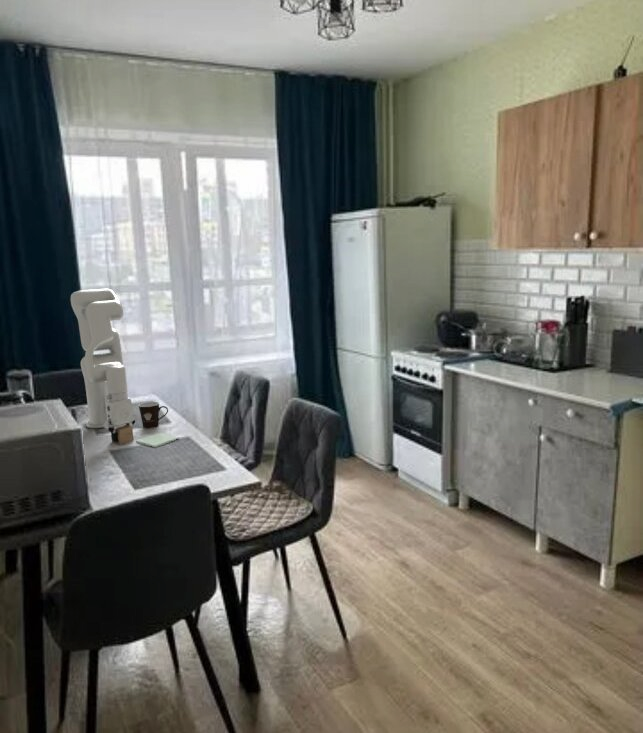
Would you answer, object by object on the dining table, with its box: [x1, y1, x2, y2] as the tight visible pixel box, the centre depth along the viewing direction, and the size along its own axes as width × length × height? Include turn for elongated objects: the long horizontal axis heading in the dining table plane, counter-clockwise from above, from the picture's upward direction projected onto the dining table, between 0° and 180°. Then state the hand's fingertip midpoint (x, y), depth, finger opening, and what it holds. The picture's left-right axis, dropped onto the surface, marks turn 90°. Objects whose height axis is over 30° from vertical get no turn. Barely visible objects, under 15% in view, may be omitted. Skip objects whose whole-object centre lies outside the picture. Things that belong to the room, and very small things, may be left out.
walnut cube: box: [110, 424, 134, 445], centre depth 239 cm, size 6×6×6 cm
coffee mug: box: [138, 401, 169, 429], centre depth 258 cm, size 12×9×10 cm
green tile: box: [135, 432, 180, 448], centre depth 239 cm, size 12×12×1 cm
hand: (122, 439), depth 239 cm, fingers closed on walnut cube, 6 cm apart
